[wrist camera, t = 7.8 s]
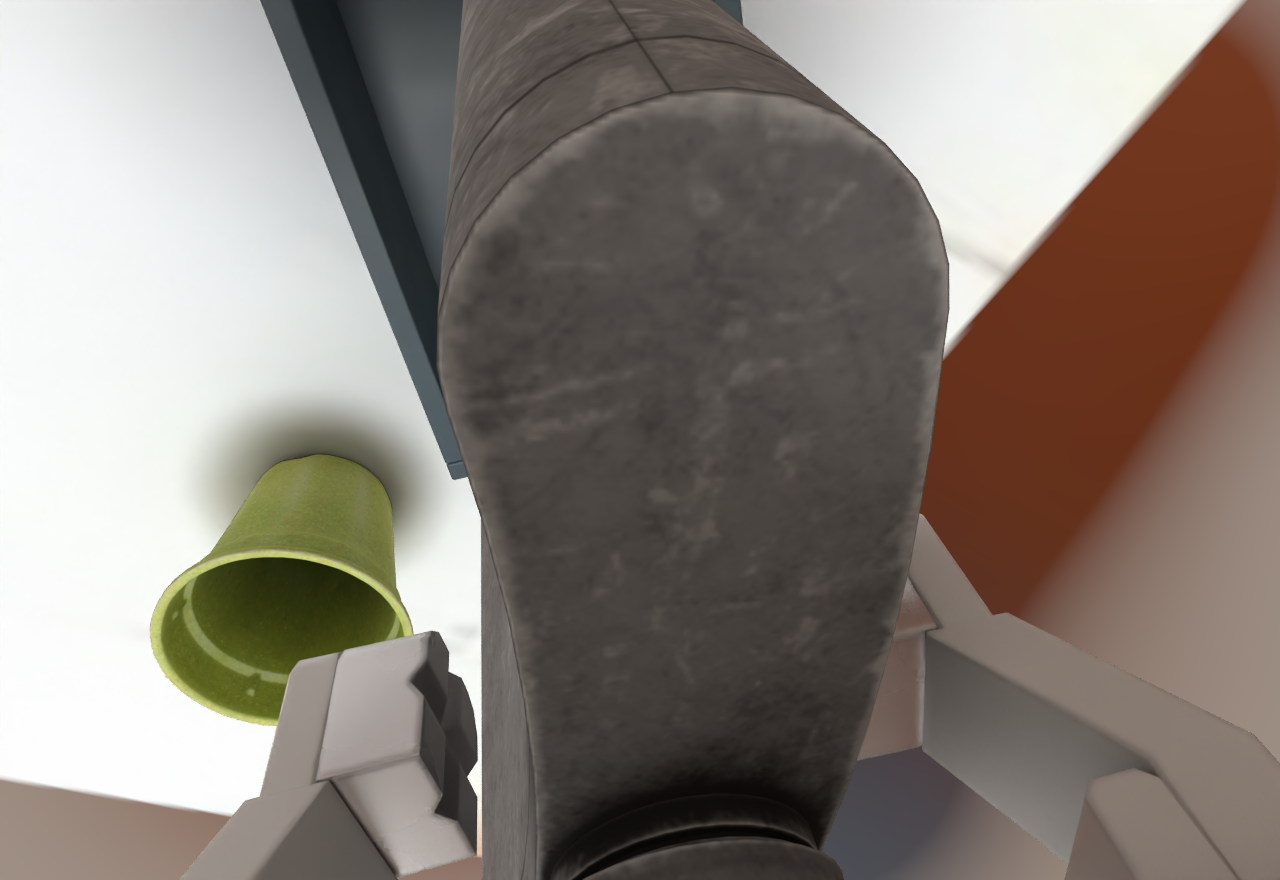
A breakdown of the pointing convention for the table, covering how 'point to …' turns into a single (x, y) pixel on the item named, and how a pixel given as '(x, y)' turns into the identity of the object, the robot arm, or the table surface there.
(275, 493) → the plant pot
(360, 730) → the robot arm
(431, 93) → the tote
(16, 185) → the table surface
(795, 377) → the flask
